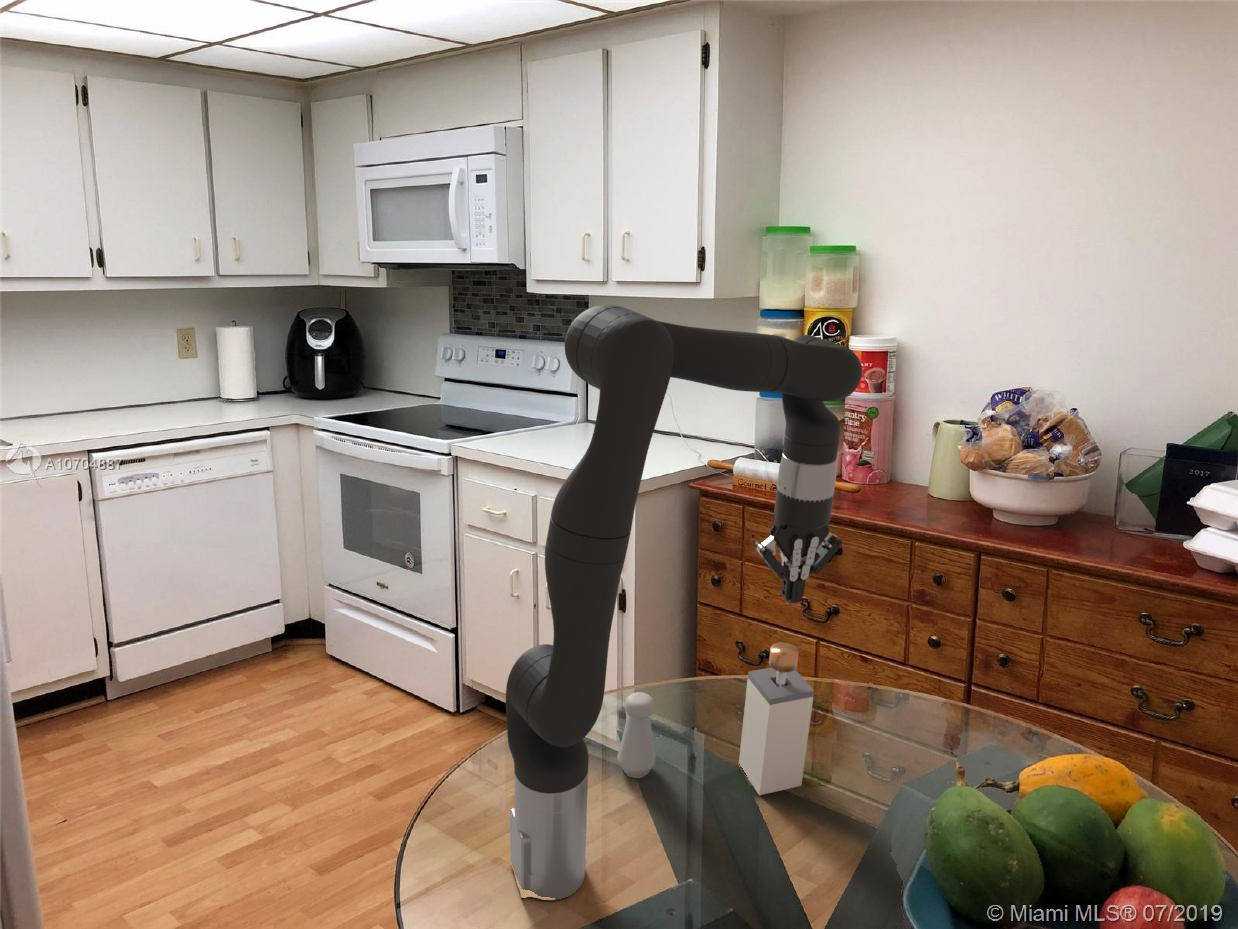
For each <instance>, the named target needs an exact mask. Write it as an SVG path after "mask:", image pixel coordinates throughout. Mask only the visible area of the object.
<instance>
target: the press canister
mask: <svg viewBox="0 0 1238 929" xmlns="http://www.w3.org/2000/svg"><path fill="white" fill-rule="evenodd" d="M747 672H748V673H747V680H746V681H747V682H746V691H745V700H744V701H745V703H744V710H743V720H742V728H741V729H742V730H741V740H740V749H739V757H738V758H739V759H738V765H739V764H740V766H741V767H742V768H743V770H744V772H745V773H746V775H747V776H746V775H745V776H746V778H747V777H748V778H747V780H748V781H749V783H750V784H751V785H752V786H753V788H754V789H755V791H756V793H757V794H758V795H759V796H762V795H767V794H771V793H777V792H781V791H784V790H788V789H793V788H797V787H798V788H799V787H802V785H803V784H802V783H803V775H804V769H805V762H806V754H807V747H808V740H809V733H810V732H809V731H810V724H811V717H812V711H813V703H814V698H815V690H814V688H813V687H811V685H810V684H809V683H808V681H807V680H805V678H803V677H802V675H801V674H800V673H799V671H797V669H795V670H794V671H792V672H787V676H786V684H785V686H781V687H777V686H776V676H777V671H776V670H774V669H773V668H771V667H768V668H762V669H761V668H759V669H755V670H750V671H747ZM740 766H739V767H740ZM744 772H743V773H744Z"/></svg>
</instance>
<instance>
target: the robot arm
mask: <svg viewBox="0 0 1238 929" xmlns="http://www.w3.org/2000/svg"><path fill="white" fill-rule="evenodd" d="M564 338H565V339H564V354H565V358H566V360H567V363H568V365H569V367H570V369H571V370H572V371H573V372H574V373H575V374H576V376H577V377H578V378H580V379H581V380H582V381H584V383H586V384H588V385H590V386H592V387H593V388H596V389H597V390H599V396H598V397H599V398H598V407H597V412H596V419H595V423H594V428H593V432H592V436H591V440H590V443H589V445H588V447H587V449H586V451H585V452H584V455H583V456H582V458H581V459H580V460H579V461H578V464H576V466H575V467H574V468H573V469H572V471H571V472H570V473H569V475H568V476H567V478H566V479H565V481H564V482H563V484H562V485H561V486H560V489H558V492H557V494H556V496H555V499H554V502H553V504H552V509H551V513H550V519H549V524H548V529H547V535H546V536H547V537H546V541H545V545H544V546H545V547H544V570H545V572H544V573H545V578H546V586H547V593H548V598H549V602H550V609H551V616H552V618H551V619H552V626H553V627H552V628H553V629H552V630H553V639H552V640H553V641H552V644H547V643H546V644H539V645H535V646H533V647H531V648H528V649H527V650H526V651H525V652H523V653H522V654H521V655H520V656H519V657H518V658H517V659H516V661H515V663H514V664H513V666H511V669H510V672H509V674H508V678H507V682H506V688H505V713H506V717H505V718H506V732H507V734H506V735H507V742H508V748H509V751H510V754H511V757H512V760H513V765H514V767H513V769H514V770H513V771H514V775H513V776H514V777H513V778H514V779H513V780H514V787H513V788H514V789H513V790H514V808H511V809H510V812H509V815H510V816H509V818H510V820H509V821H510V825H509V826H510V831H509V833H510V836H509V838H510V863H511V862H512V865H513V868H514V871H515V874H516V876H517V879H518V881H519V884H520V886H521V889H523V890H524V889H525V890H530V891H532V892H534V893H535V894H537V895H538V896H541V897H550V898H555V899H560V900H563V899H562V898H564V899H565V897H566V898H568V897H570V896H572V895H573V894H575V893H576V892H577V891H578V890H579V889H581V887H582V885H583V884H584V881H585V878H586V877H585V876H586V862H587V861H586V860H587V859H586V858H587V857H586V850H587V849H586V848H587V825H588V824H587V822H588V821H587V818H588V816H587V815H588V791H589V790H588V789H589V788H588V785H589V750H588V747H587V744H586V742H585V740H584V738H586V737H587V736H588V734H589V733H590V732H591V731H592V729H593V727H594V726H595V724H596V723H597V721H598V719H599V716H600V714H601V710H602V707H603V702H604V698H605V696H604V695H605V689H606V688H605V687H606V680H607V679H606V678H607V666H608V665H607V664H608V656H609V655H608V654H609V646H610V639H611V638H610V637H611V629H612V625H613V619H614V614H615V610H616V609H615V608H616V603H617V596H618V592H619V588H620V581H621V576H622V572H623V569H624V564H625V559H626V556H627V553H628V552H627V551H628V547H629V544H630V543H629V542H630V538H631V533H632V527H633V521H634V515H635V510H636V505H637V504H636V503H637V499H638V496H639V491H640V486H641V482H642V478H643V474H644V470H645V465H646V460H647V456H648V451H649V448H650V444H651V441H652V437H653V435H654V431H655V429H656V428H655V427H656V425H657V422H658V419H659V416H660V413H661V410H662V406H663V404H664V399H665V398H666V393H667V392H668V391H667V390H668V387H669V384H670V380H671V379H672V378H674V379H678V380H684V381H689V382H695V383H698V384H702V385H708V386H712V387H717V388H719V389H720V388H721V389H726V390H732V391H736V392H737V391H739V392H753V393H767V394H768V393H777V394H778V393H779V394H780V395H781V400H782V408H783V410H782V411H783V414H784V419H785V428H784V430H785V431H784V439H783V445H782V446H783V447H782V454H781V459H780V463H779V466H778V472H777V473H778V474H777V479H776V491H775V493H776V494H775V501H774V509H773V511H774V512H773V517H774V521H773V522H774V523H773V526H772V527H771V528H770V531H769V536H768V537H767V538H766V539H765V540H763V541H761V540H758V541H755V543H754V544H753V545H754V546H753V548H754V549H755V551H757V553H758V554H759V555H760V557H761V558H762V559H763V561H764V562H765V564H766V565H767V566H768V567H769V569H770V570H771V571H772V572H773V573H774V574H775V575H776V576H777V577H778V578H779V579H781V589H780V594H781V596H782V597H783V599H784V600H785V601H786V602H787V603H788V604H790V605H791V604H796V603H800V602H801V599H802V598H803V597H804V595H805V588H806V580H807V579H808V578H809V577H810V575H812V574H814V575H818V574H819V573H820V572H821V571H822V569H823V568H824V567H825V566H826V565H827V564H828V562H829V561H830V560H831V559H832V558H833V557H834V555H835V554H836V552H837V551H838V550H839V549H840V547H841V546H842V545H843V541H842V539H841V538H840V537H838V536H837V535H836V534H834V533H833V532H831V527H830V525H829V523H830V521H831V518H832V511H833V502H834V494H835V488H836V480H837V457H838V449H839V443H840V434H841V422H840V420H839V418H838V417H837V416H836V414H834V413H833V412H832V411H831V410H830V409H829V408H828V407H827V406H826V405H825V402H831V403H832V402H838V401H841V400H844V399H846V398H847V397H849V396H850V395H852V394H853V393H854V392H855V391H856V390H857V389H858V387H859V385H860V383H861V380H862V377H863V367H862V363H861V360H860V359H859V357H858V355H857V354H856V353H855V352H854V351H853V350H852V349H850V348H848V347H846V346H844V345H841V344H838V343H834V342H832V341H829V340H826V339H823V338H820V337H819V336H818V337H817V336H815V335H809V334H804V335H803V334H802V335H799V336H796V337H795V338H793V339H790V338H786V337H783V336H780V335H775V334H768V333H758V332H751V331H739V330H737V331H735V330H724V329H714V328H713V329H712V328H703V327H693V326H686V325H681V324H676V323H670V322H665V321H661V320H656V319H653V318H651V317H649V316H646V315H644V314H641V313H639V312H636V311H633V310H632V309H628V308H627V307H623V306H619V305H615V304H614V305H613V304H602V305H601V304H599V305H596V306H593V307H590V308H588V309H586V310H584V311H583V312H581V313H580V314H579V315H577V316H576V317H575V319H573V321H572V322H571V324H570V325H569V327H568V330H567V332H566V335H565V337H564ZM776 546H777V548H778V550H779V551H780V559H781V562H780V561H779V560H778V559H777V558H776V556H775V555H776V554H777V553H776Z"/></svg>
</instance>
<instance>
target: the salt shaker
mask: <svg viewBox="0 0 1238 929" xmlns="http://www.w3.org/2000/svg"><path fill="white" fill-rule="evenodd" d="M654 709H655V701H654V698H653V697H652V696H650V695H649V694H648V693H645V692H637V691H636V692H633V693H631V694H630V695H628V696H627V697H626V700H625V704H624V710H625V712H626V714H627V718H626V722H625V725H624V729H623V734H622V737H621V740H620V741H621V742H620V745H619V748H618V752H617V761H618V764H619V766H620V767H621V769H623V770H624V771H623V770H622V771H623V773H626V774H627V775H626V774H625V775H626V776H627V777H628V776H633V777H634V776H642V775H643V774H644V773H647V772H648V771H649V770H651V769H652V770H653V768H654V766H655V763H656V760H657V755H656V754H657V753H656V746H655V743H654V736H653V730H652V729H653V728H652V723H651V717H650V716H652V715H653V713H654ZM652 770H651V771H652Z"/></svg>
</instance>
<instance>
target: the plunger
mask: <svg viewBox="0 0 1238 929" xmlns="http://www.w3.org/2000/svg"><path fill="white" fill-rule="evenodd" d="M769 650H770V651H769V658H768V660H769V661H768V665H769V668H773V669H774V670H776V671H777V676H776V686H777V687H781V686H785V684H786V676H787V672H792V671H794V670H797V668H798V662H799V661H798V660H799V653H800V650H799V649H798V647H797V646H795V645H793V643H792V644H791V643H788V642H775V643H773V644H772V645H771V646H770V649H769Z"/></svg>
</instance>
